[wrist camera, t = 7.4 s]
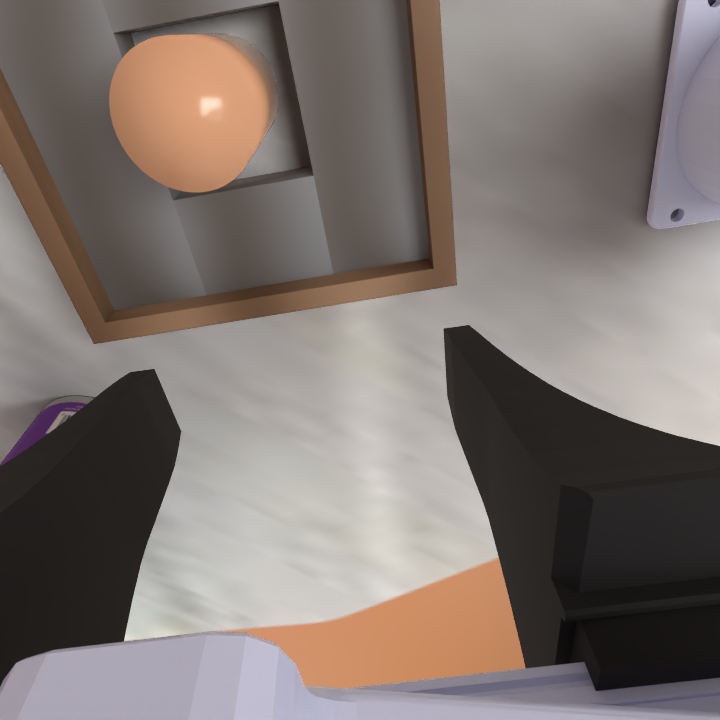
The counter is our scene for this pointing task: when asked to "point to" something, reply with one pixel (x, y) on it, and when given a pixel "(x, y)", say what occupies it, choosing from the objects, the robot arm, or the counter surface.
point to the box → (239, 197)
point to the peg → (193, 107)
